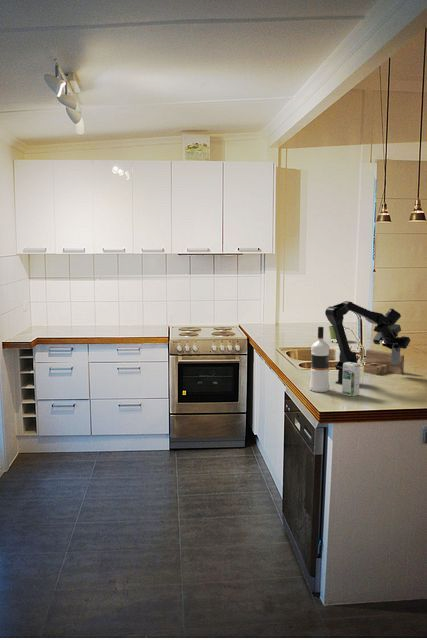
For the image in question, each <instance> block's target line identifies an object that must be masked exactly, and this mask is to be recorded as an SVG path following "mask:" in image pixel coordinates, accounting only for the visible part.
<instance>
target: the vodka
mask: <svg viewBox="0 0 427 640" xmlns="http://www.w3.org/2000/svg"><path fill="white" fill-rule="evenodd" d="M310 348H311V350H310V351H311V352H310V354H311V355H310V356H311V358H310V359H311V361H310V362H311V363H310V382H309V385H308V386H309V390H310V391H311V390H312V391H311V392H314V391H315V392H314V393H327V392H328V391H330V381H329V374H330V373H329V372H330V368H329V365H330V345H329V344H328V343H327V342H326V341H324V326H318V327H317V341H315V342H313V343H312V345H311V347H310Z"/></svg>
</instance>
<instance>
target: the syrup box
mask: <svg viewBox="0 0 427 640" xmlns="http://www.w3.org/2000/svg"><path fill="white" fill-rule="evenodd" d="M360 371H361V363H358V362H357V363H351V362H346V363H343V382H342V384H341V386H342V387H341V395H345V396H348V397H356V396H358V395H359V394H360V379H361V378H360V377H361V376H360V375H361V374H360V373H361V372H360Z"/></svg>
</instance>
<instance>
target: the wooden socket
mask: <svg viewBox="0 0 427 640" xmlns="http://www.w3.org/2000/svg"><path fill="white" fill-rule="evenodd" d="M391 355H392V352H387V351H381V350H377V349H376V350H375V349H369V348H367V349H365V364H363V370H362V371H363V373H365V374H370V375H373V376H374V375H375V376H378V375H379V376H380V375H382V374H387V373H392V374H396V375H403V374H404V370H405V369H404V368H405V367H404V366H405V355H404V354H401V353H400V363H399V364H391Z"/></svg>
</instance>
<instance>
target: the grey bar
mask: <svg viewBox="0 0 427 640" xmlns="http://www.w3.org/2000/svg"><path fill="white" fill-rule="evenodd" d="M394 345H395V344H393V343H392V350H391V353H392V355H391V364H399V363H400V354H401V351H400V352H399V351H397V350H396V349H395V348H393V347H394Z"/></svg>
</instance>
